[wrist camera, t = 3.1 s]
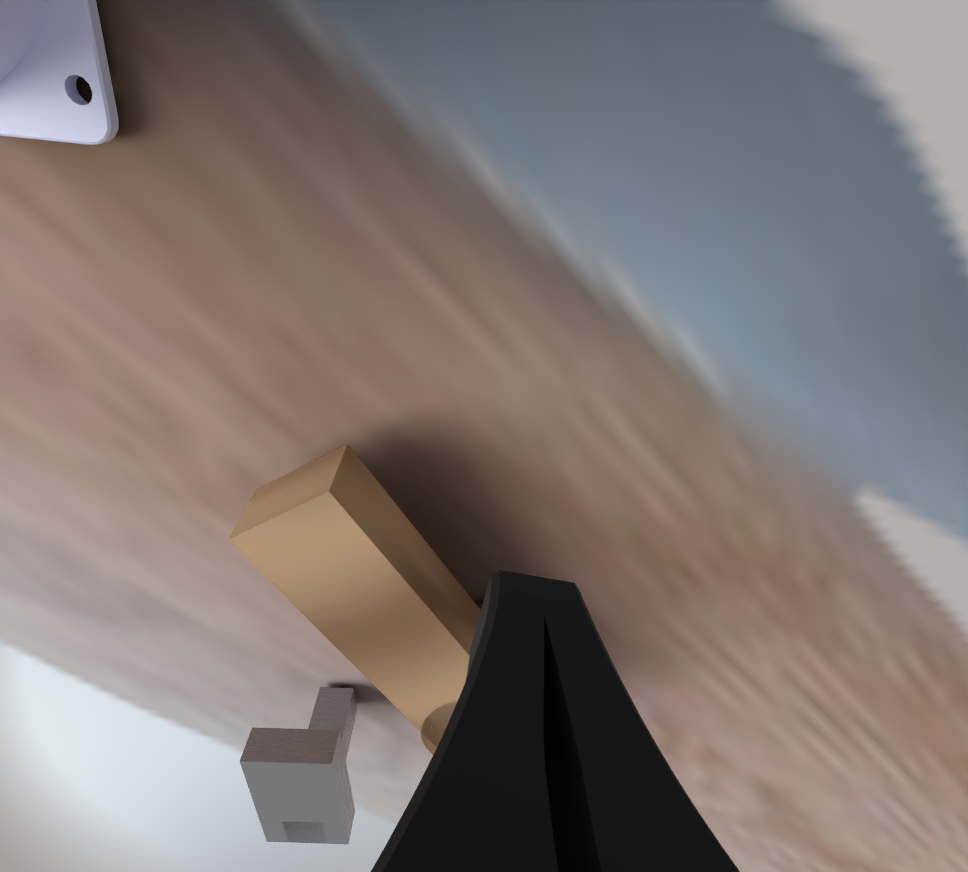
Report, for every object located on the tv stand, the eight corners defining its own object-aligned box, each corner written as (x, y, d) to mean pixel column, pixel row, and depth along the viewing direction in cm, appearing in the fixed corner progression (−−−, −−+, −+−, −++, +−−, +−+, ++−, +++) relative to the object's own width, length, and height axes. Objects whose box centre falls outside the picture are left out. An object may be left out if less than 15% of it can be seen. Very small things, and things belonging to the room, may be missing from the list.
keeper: (363, 630, 21) (331, 764, 17) (374, 709, 23) (348, 844, 20) (288, 628, 21) (240, 761, 17) (307, 707, 23) (266, 841, 20)
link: (557, 694, 21) (567, 812, 18) (464, 724, 22) (456, 842, 19) (357, 438, 16) (319, 539, 13) (247, 494, 17) (187, 600, 14)
